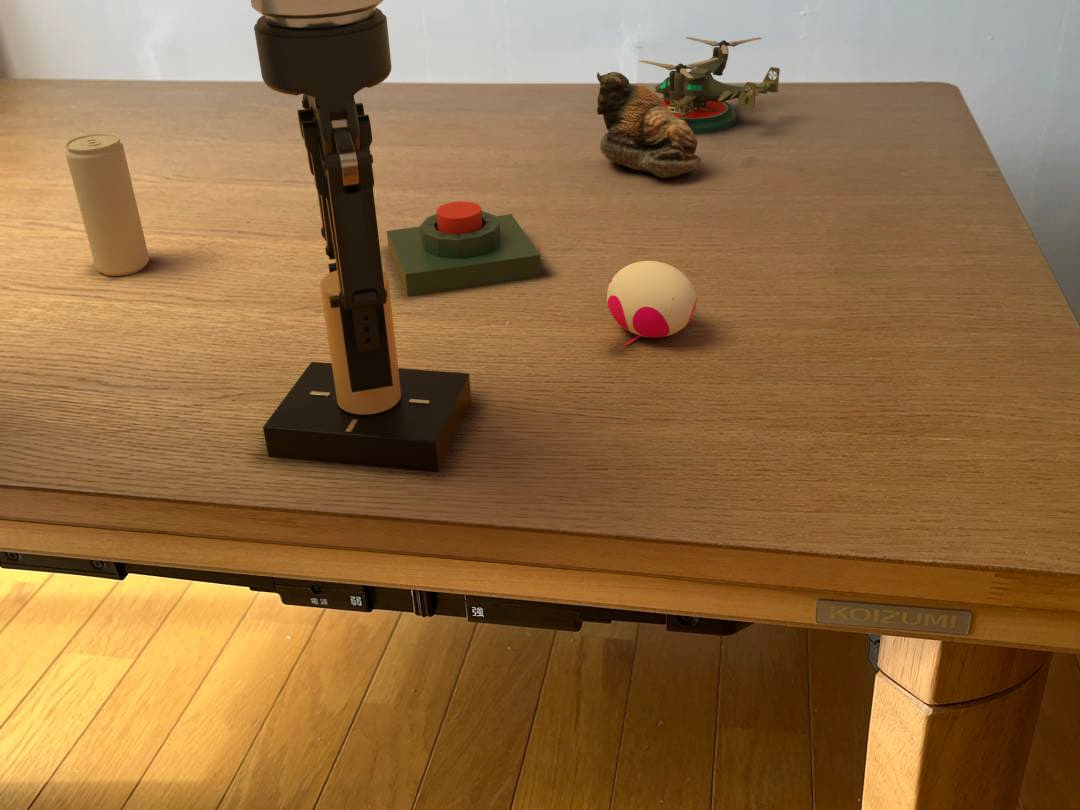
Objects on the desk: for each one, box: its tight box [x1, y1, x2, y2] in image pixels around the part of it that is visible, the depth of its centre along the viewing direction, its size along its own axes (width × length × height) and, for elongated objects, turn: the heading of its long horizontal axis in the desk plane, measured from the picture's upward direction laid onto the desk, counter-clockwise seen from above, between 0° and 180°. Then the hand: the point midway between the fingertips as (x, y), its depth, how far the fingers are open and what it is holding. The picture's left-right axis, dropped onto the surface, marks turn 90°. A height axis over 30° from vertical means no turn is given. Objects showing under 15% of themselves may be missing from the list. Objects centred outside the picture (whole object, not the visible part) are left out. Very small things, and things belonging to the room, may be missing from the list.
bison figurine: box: [596, 71, 702, 179], centre depth 118 cm, size 12×7×10 cm, turn 56°
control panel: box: [262, 361, 472, 473], centre depth 77 cm, size 12×9×3 cm
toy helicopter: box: [638, 36, 781, 135], centre depth 132 cm, size 20×15×8 cm
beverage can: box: [64, 132, 150, 277], centre depth 100 cm, size 5×5×12 cm
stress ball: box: [606, 260, 697, 349], centre depth 88 cm, size 8×8×7 cm
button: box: [436, 200, 483, 234], centre depth 99 cm, size 4×4×2 cm
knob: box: [319, 270, 401, 415], centre depth 74 cm, size 4×4×9 cm
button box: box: [386, 210, 542, 297], centre depth 100 cm, size 12×10×4 cm
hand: (365, 366), depth 75 cm, fingers open, 5 cm apart
